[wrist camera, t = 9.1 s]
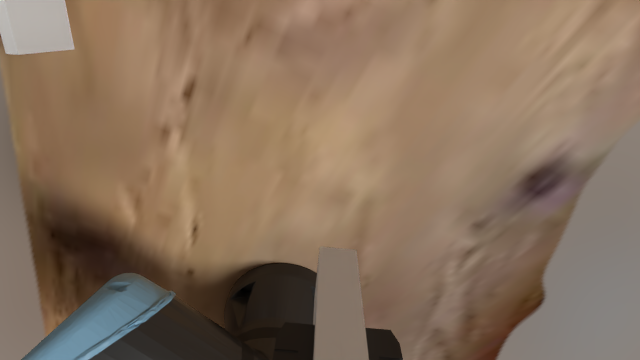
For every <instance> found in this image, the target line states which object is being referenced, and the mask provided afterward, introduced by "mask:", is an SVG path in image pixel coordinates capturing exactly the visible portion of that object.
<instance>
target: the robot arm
mask: <svg viewBox="0 0 640 360" xmlns="http://www.w3.org/2000/svg"><path fill="white" fill-rule="evenodd" d="M175 295H176V293H175V292H173V291H167V290H165V289H164V288H162V287H160V286H158V285H157V284H155V283H153V282H152V281H150V280H148V279H147V278H145V277H143V276H142V275H139V274H136V273H123V274H120V275H117V276H115V277H113V278H112V279H110V280H109V281H108V282H107V283H106V284H104V285H103V286H102V287H101V288H100V289H99V290H98V291H97V292H95V293H94V294H93V295H92V296H91V297H90V298H89V299H88V300H87V301H85V302H84V303H83V304H82V305H81V306H80V307H79V308H78V309H77V310H76V311H74V312H73V313H72V314H71V315H70V316H69V317H68V318H67V319H65V320H64V321H63V322H62V323H61V324H60V325H59V326H58V327H57V328H55V329H54V330H53V331H52V332H51V333H50V334H49V335H48V336H47V337H46V338H44V339H43V340H42V341H41V342H40V343H39V344H38V345H37V346H36V347H35V348H34V349H32V350H31V351H30V352H29V353H28V354H27V355H26V356H25V357H24V358H22V359H21V360H403V358H402V353H401V348H400V344H399V342H398V341H397V339H396V338H395V336H394V335H393V333H392V332H391V330H384V329H372V328H365V321H364V313H363V304H362V295H361V286H360V278H359V269H358V260H357V251H356V250H354V249H342V248H330V247H320V248H319V258H318V268H317V273H315V272H313V271H311V270H309V269H306V268H304V267H301V266H297V265H292V264H269V265H264V266H260V267H257V268H255V269H253V270H251V271H249V272H247V273H246V274H244V275H243V276H242V277H240V278H239V279H238V280H237V282H236V283H235V284H234V286H233V287H232V289H231V292H230V294H229V297H228V300H227V302H226V306H225V312H224V323H225V329H224V328H222V327H221V326H219V325H218V324H216V323H215V322H213V321H212V320H210V319H209V318H207V317H206V316H204V315H203V314H201V313H200V312H198V311H197V310H195V309H194V308H192V307H191V306H189V305H188V304H186V303H185V302H183V301H182V300H180V299H179V298H177V297H176V296H175Z"/></svg>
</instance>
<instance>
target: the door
mask: <svg viewBox="0 0 640 360" xmlns="http://www.w3.org/2000/svg"><path fill="white" fill-rule="evenodd" d="M0 34H1V38H2V41H3V45H4V48H5V52H6V54H15V55H21V54H32V53H42V52H52V51H63V50H73V49H74V44H73V39H72V34H71V29H70V24H69V19H68V14H67V9H66V4H65V0H0Z"/></svg>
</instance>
